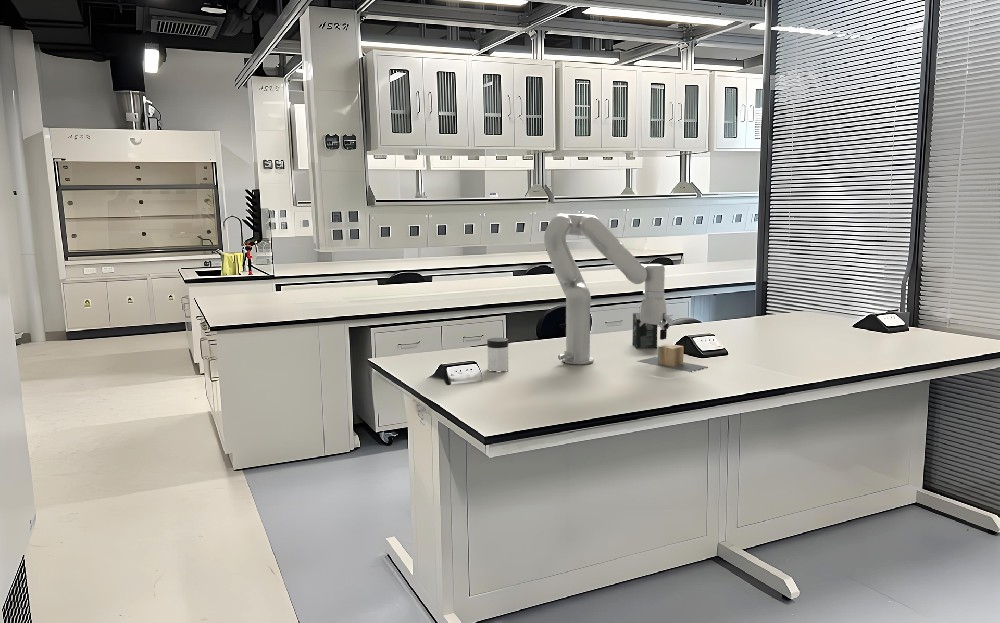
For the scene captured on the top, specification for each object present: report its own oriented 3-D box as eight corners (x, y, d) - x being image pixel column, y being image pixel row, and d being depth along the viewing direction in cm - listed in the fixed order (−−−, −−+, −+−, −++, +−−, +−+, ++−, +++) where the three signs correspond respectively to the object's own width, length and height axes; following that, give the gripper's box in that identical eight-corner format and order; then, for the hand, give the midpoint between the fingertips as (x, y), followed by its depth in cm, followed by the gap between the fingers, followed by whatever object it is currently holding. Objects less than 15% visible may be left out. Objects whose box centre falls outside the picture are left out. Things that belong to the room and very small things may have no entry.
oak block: (657, 363, 275) (672, 366, 269) (658, 346, 274) (672, 348, 268) (668, 361, 279) (683, 363, 274) (668, 343, 278) (683, 346, 273)
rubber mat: (689, 372, 261) (689, 371, 260) (636, 362, 279) (636, 361, 279) (707, 367, 268) (707, 366, 268) (654, 357, 287) (654, 356, 287)
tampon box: (657, 349, 304) (658, 316, 302) (636, 349, 304) (636, 316, 302) (652, 344, 315) (653, 312, 313) (632, 344, 315) (632, 312, 313)
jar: (482, 371, 268) (482, 340, 266) (493, 366, 275) (492, 336, 273) (503, 373, 263) (502, 342, 262) (513, 369, 270) (513, 338, 269)
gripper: (631, 294, 281) (630, 335, 283) (666, 298, 268) (665, 341, 270) (642, 292, 285) (642, 333, 288) (678, 296, 272) (676, 339, 275)
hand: (653, 337), depth 279 cm, fingers open, 9 cm apart
